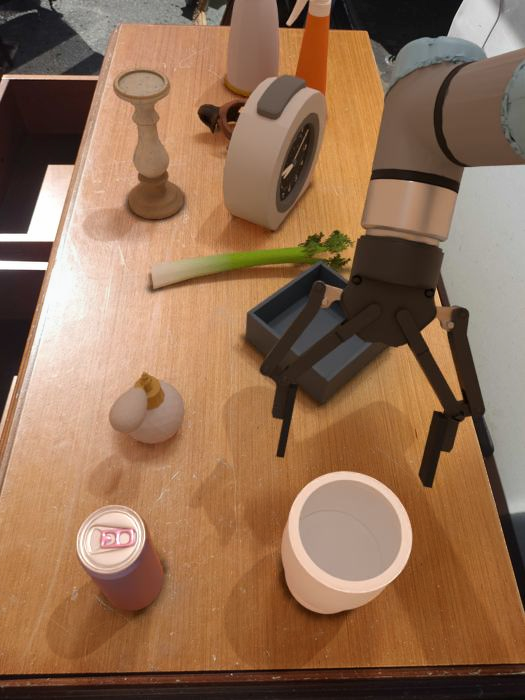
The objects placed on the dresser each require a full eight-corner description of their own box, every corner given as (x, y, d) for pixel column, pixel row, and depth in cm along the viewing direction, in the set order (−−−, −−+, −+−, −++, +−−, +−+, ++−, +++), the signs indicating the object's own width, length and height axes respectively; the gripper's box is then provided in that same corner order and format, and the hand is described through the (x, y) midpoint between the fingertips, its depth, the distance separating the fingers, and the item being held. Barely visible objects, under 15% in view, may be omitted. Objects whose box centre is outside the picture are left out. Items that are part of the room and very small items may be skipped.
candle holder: (124, 188, 93) (103, 68, 76) (176, 180, 94) (166, 61, 78) (134, 224, 88) (113, 103, 71) (189, 214, 90) (181, 95, 73)
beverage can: (163, 610, 56) (146, 573, 44) (102, 614, 56) (68, 578, 43) (164, 549, 60) (149, 500, 47) (108, 553, 59) (77, 503, 47)
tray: (390, 344, 77) (400, 319, 73) (321, 404, 71) (328, 381, 66) (315, 286, 82) (320, 259, 78) (245, 337, 76) (246, 312, 72)
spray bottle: (265, 121, 106) (275, -37, 84) (305, 102, 110) (325, -53, 89) (291, 139, 103) (308, -20, 82) (331, 118, 108) (358, -37, 86)
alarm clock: (263, 246, 87) (272, 133, 70) (221, 229, 88) (221, 114, 72) (318, 171, 98) (337, 59, 82) (280, 158, 100) (291, 45, 83)
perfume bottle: (186, 396, 71) (180, 341, 61) (186, 469, 65) (179, 420, 55) (126, 399, 70) (109, 343, 60) (121, 472, 64) (102, 424, 54)
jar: (359, 516, 63) (391, 462, 51) (386, 615, 57) (430, 581, 45) (266, 531, 61) (277, 479, 49) (284, 634, 56) (301, 604, 43)
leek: (153, 271, 85) (345, 243, 87) (157, 310, 82) (356, 279, 84) (145, 246, 79) (350, 217, 82) (150, 287, 76) (362, 255, 79)
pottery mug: (260, 124, 106) (271, 101, 98) (250, 170, 104) (262, 150, 97) (198, 104, 103) (205, 79, 95) (188, 151, 102) (194, 129, 94)
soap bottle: (285, 73, 116) (298, -78, 95) (273, 103, 110) (285, -52, 88) (232, 64, 117) (234, -88, 96) (217, 93, 110) (216, -63, 89)
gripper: (530, 264, 51) (474, 478, 55) (264, 217, 53) (228, 428, 57) (566, 265, 44) (499, 512, 48) (256, 210, 45) (215, 454, 49)
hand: (352, 467), depth 52 cm, fingers open, 13 cm apart
